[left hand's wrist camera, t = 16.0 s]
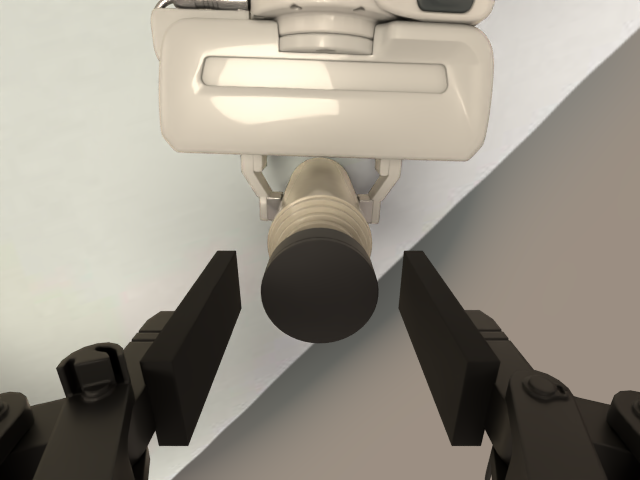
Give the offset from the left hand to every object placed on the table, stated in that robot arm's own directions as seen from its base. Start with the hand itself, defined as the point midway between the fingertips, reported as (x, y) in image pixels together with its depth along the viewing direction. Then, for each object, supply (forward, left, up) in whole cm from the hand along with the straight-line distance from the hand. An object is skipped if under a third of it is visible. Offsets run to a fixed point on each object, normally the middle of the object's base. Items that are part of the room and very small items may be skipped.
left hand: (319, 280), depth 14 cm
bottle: (0, 0, -17) cm, 17 cm away
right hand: (-1, -1, -11) cm, 11 cm away
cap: (0, 0, +1) cm, 1 cm away
